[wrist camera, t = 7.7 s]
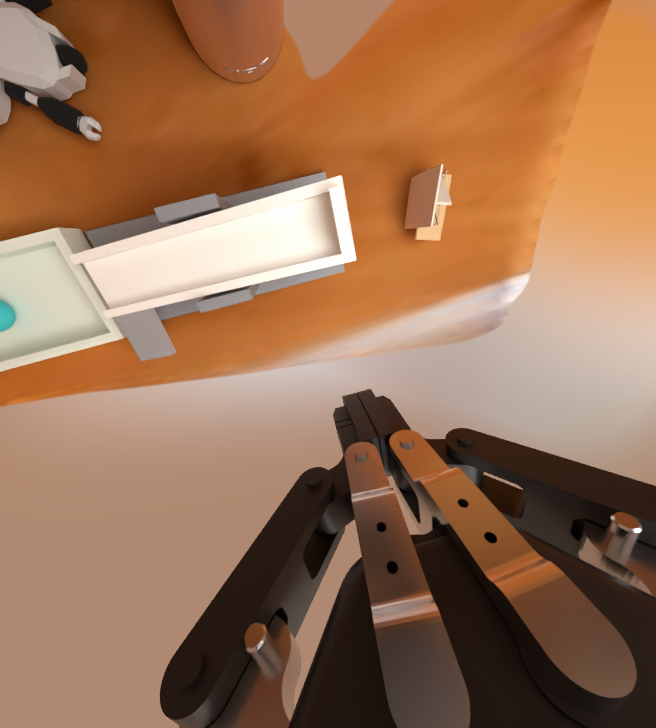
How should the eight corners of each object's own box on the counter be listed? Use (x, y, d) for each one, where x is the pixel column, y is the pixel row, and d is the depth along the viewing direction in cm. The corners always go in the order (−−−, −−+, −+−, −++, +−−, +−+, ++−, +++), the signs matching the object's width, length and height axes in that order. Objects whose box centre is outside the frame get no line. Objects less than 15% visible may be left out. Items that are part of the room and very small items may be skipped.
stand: (90, 232, 30) (4, 227, 21) (324, 173, 31) (342, 144, 22) (142, 324, 35) (90, 354, 26) (343, 270, 36) (365, 281, 27)
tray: (-106, 275, 29) (-153, 279, 26) (80, 228, 30) (57, 227, 27) (-19, 371, 34) (-49, 384, 31) (138, 329, 35) (124, 338, 32)
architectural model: (435, 179, 34) (473, 164, 27) (425, 240, 37) (457, 240, 30) (409, 177, 33) (441, 161, 27) (401, 239, 36) (428, 239, 30)
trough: (103, 251, 29) (52, 257, 24) (343, 182, 24) (340, 171, 19) (158, 350, 34) (125, 371, 29) (365, 309, 29) (367, 326, 24)
